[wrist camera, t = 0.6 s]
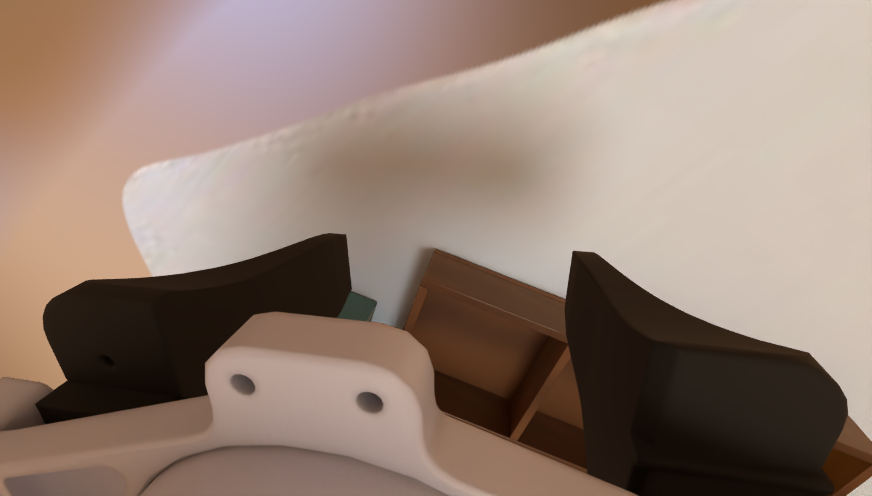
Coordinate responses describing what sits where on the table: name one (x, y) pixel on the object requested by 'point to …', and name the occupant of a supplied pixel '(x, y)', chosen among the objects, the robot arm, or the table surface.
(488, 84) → the table surface
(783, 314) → the table surface
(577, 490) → the robot arm
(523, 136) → the table surface
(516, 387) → the organizer
